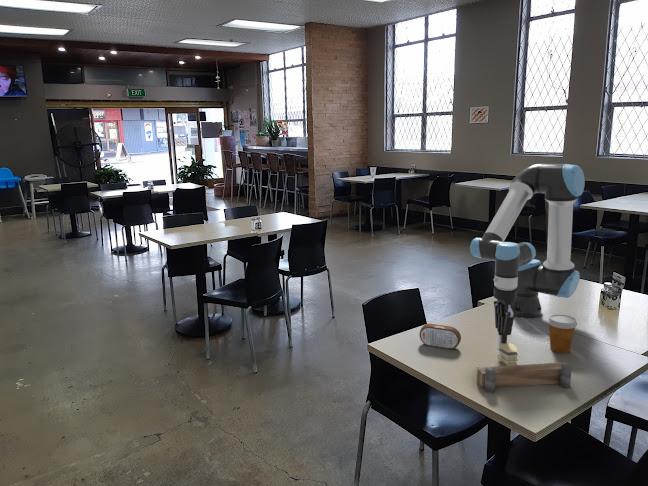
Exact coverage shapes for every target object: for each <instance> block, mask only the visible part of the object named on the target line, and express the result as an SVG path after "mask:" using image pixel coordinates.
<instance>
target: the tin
mask: <svg viewBox="0 0 648 486" xmlns="http://www.w3.org/2000/svg"><path fill="white" fill-rule="evenodd" d="M418 336H419V339H420V341H421V342H422V343H423V344H424V345H426V346H427V347H431V348H433V347H434V348H439V349H445V350H454V349H456V348H457V347H458V346H459V344H460V343H461V341H462V336H461V333H460V331H459V330H458V329H457V328H456V327H453V326H449V325H442V324H436V323H426V324H424V325H422V326H421V328H420V331H419V335H418Z"/></svg>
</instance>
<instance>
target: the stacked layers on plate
mask: <svg viewBox="0 0 648 486" xmlns="http://www.w3.org/2000/svg"><path fill="white" fill-rule="evenodd" d="M499 348H500V349H498V350H497V351H498V352H499V353H498V354H497V356H498V361H500V362H501V363H503V364H504V365H505V366H511V365H518V364H517V362H519V359H518V356H519V354H518V352H519V349H518V348H517V346H516V344H513V343H509V342H507V343H505V344H502V345H499Z"/></svg>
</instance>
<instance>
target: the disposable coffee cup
mask: <svg viewBox="0 0 648 486" xmlns="http://www.w3.org/2000/svg"><path fill="white" fill-rule="evenodd" d="M547 322H548V326H549V327H548V329H549V331H548V332H549V341H550V343H549V345H550V350H551V351H553V352H555V353H558V354H569V353H570V351H571V349H572V348H571V347H572V342H573V338H574V335H575V331H576V330H575V329H576V327H577V326H578V322H577V320H576V317H574V316H572V315H567V314H562V313H561V314H560V313H555V314H551V315H549V317H548V319H547Z"/></svg>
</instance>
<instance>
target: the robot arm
mask: <svg viewBox="0 0 648 486" xmlns="http://www.w3.org/2000/svg"><path fill="white" fill-rule="evenodd" d="M585 179H586V178H585V174H584V171H583V169H582V168H581V166H579V165H577V164H568V163H536V164H532V165H530V166H527V167H526V168H525V169H522V171H521V172H519V173H518V174H516V176H514V178H513V179H512V180H511V182H510V184H509V186H508V193H507V194H506V197H505V198H504V199H503V201H502V202H501V205H500V206H499V208H498V210H497V212H496V214H495V215H494V217H493V219H492V220H491V222H490V224H489V225H488V227H487V229H486V230H485V232H484V234H483V236H482V237H475V238H473V239H472V240H471V243H470V246H469V250H470V251H469V252H470V253H471V255H472V257H474V258H478V259H481V260H488V261H493V262H495V263H494V265H495V267H494V278H493V279H492V280H493V282H494V287H493V298H494V299H496V300H493V305H494V324H495V325H494V326H495V329H496V330H497V348H496V350H497V351H498V349H500V348H499V345H502V344H505V343H508V336H511V335H512V330H513V325H514V320H515V318H516V317H517V318H524V319H525V318H526V319H530V318H538V317H540V316H542V309H543V308H542V305H541V302H540V298H539V293H541V294H544V295H548V296H549V295H550V296H553V297H557V298H565V299H569V298H571V297H572V296H573V295H574V293H575V292H576V291H577V288H578V285H579V283H580V277H581V275H580V272H579V271H578V270H575V264H574V262H572V261H571V256H572V253H571V251H572V235H573V233H572V232H573V217H574V216H573V215H574V213H573V212H574V203H575V202H576V201H578V200H579V199H578V198H579V196H582V194H583V193H584V191H585V189H584V188H585V186H586V185H585V183H586V182H585ZM535 194H544V200H545V201H546V202H547V203H548V219H547V220H548V221H547V223H548V224H547V247H546V248H547V250H546V251H547V252H546V260H544V261H543V262H541V261H540V259H535V257H536V255H537V251H536V248H535V247H534V245H533V244H531V243H530V242H525V241H524V242H523V241H522V242H519V243H516V242H511V241H505V240H506V238H507V236H508V235H509V232H510V231H511V229H512V227H513V226H514V224H515V222H516V220H517V218H518V217H519V215H520V213H521V211H522V209H523V208H524V206H525V204H526V203H527V201H528V200H531V199H532V198H533V196H534V195H535ZM542 263H543V264H542Z"/></svg>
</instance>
